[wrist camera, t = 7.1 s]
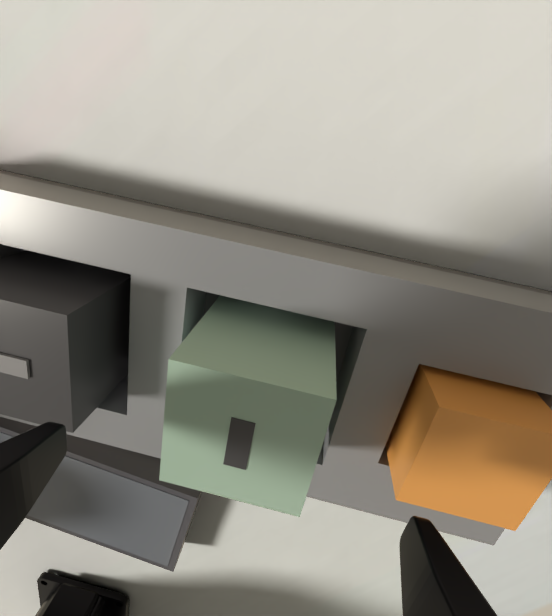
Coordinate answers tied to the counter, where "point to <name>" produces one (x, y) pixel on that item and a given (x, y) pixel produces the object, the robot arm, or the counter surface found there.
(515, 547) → the counter surface
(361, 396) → the power strip
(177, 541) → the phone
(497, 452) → the power button
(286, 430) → the cube
